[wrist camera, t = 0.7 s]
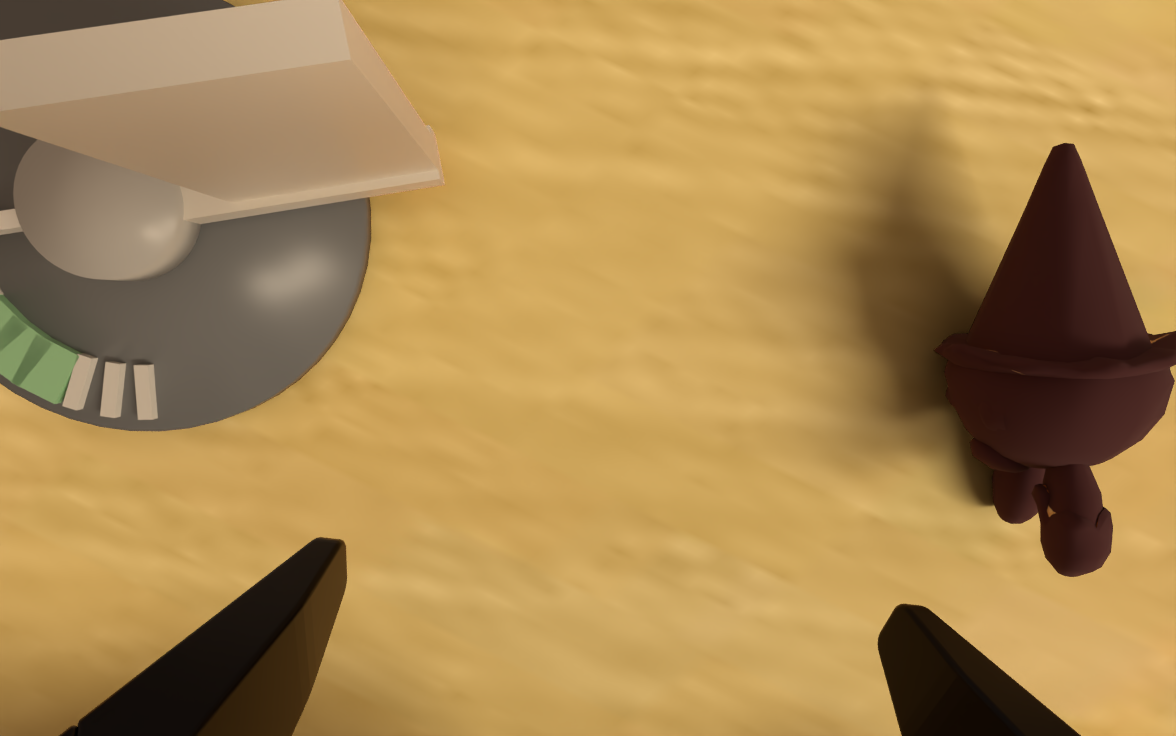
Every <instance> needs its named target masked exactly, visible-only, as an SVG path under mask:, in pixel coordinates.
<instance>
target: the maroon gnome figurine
mask: <svg viewBox="0 0 1176 736" xmlns="http://www.w3.org/2000/svg"><path fill="white" fill-rule="evenodd" d="M934 351H935V352H937V353H938V354H940V355H941V356H943V357H944V358H946V359H947V360H948V362H947V365H946V368H945V371H944V373H945V377H946V380H947V384H948V388H947V391H946V397H947V399H948V400H949V402H950V404H951V405H952V406H954V408H955V409H956V411H957V413H958V415H959V417H960V419H961V421H962V423H963V425H964V427H965V428H966V430H967V431H968V432H969V433H970V434H971V435H972V436H973V437H974V438H973V439H972V440H971V441H970V446H971V451H972V456H974V457H975V458H977V459H978V460H980V461H981V462H983V463H984V464H986V465H987V466H989V467H990V468H991V469H994V472H993V476H992V486H993V502H994V505H995V508H996V510H997V513H998V515H999V516H1000V518H1001V519H1002V520H1004V521H1006V522H1008V523H1011V524H1020V523H1023V522H1025V521H1027V520H1029V519H1031V518H1032V517H1033V516H1035V515H1036V514H1037V513H1038V514H1039V518H1040V524H1041V544H1042V548H1043V551H1044V554H1045V558H1046V559H1047V560H1048V561H1049V562H1050V564H1051V565H1052V566H1053V567H1054V569H1055V570H1056V571H1057V572H1058V573H1059V574H1061V575H1064V576H1069V577H1076V576H1080V575H1083V574H1087V573H1090V572H1093V571H1095V570H1097V569H1099V568H1101V567H1102V565H1103V564H1104V562H1105V561H1106V559H1107V557H1108V556H1109V554H1110V553H1111V545H1112V532H1113V525H1112V519H1111V513H1110V512H1109V511H1108V510H1107V509H1106V508H1104V507H1103V504H1102V495H1101V492H1100V489H1099V487H1098V485H1097V483H1096V480H1095V478H1094V476H1093V473H1092V471H1091V469H1090V466H1092V465H1097V464H1100V463H1103V462H1105V461H1107V460H1109V459H1112V458H1113V457H1115V456H1116V455H1118V454H1120V453H1121V452H1123V451H1125V450H1126V449H1128V448H1129V447H1131V446H1133V445H1134V444H1136V443H1137V442H1139V441H1141V440H1142V439H1143V438H1144V437H1145V436H1146V435H1147V433H1148V432H1149V431H1150V430H1151V429H1152V428H1153V427H1154V426H1155V424H1156V423H1157V422H1158V421H1159V420H1160V419H1161V418H1162V416H1163V415H1164V414H1165V410H1166V407H1167V404H1168V401H1169V397H1170V394H1171V391H1172V388H1173V385H1174V381H1175V380H1174V378H1173V376H1172V374H1171V371H1170V367H1172V366H1174V365H1176V331H1174V332H1168V333H1163V334H1157V335H1152V334H1148V333H1147V331H1146V329H1145V326H1144V323H1143V321H1142V318H1141V316H1140V313H1139V310H1138V308H1137V305H1136V302H1135V300H1134V297H1133V295H1132V292H1131V289H1130V287H1129V284H1128V282H1127V279H1126V276H1125V274H1124V271H1123V269H1122V266H1121V263H1120V261H1119V258H1118V256H1117V253H1116V250H1115V248H1114V245H1113V243H1112V240H1111V237H1110V235H1109V232H1108V230H1107V227H1106V224H1105V222H1104V219H1103V217H1102V214H1101V211H1100V209H1099V206H1098V203H1097V201H1096V198H1095V195H1094V193H1093V190H1092V187H1091V185H1090V182H1089V179H1088V177H1087V174H1086V172H1085V169H1084V166H1083V164H1082V161H1081V159H1080V156H1079V154H1078V152H1077V150H1076V148H1075V145H1074V144H1069V143H1063V144H1060V145H1057V146H1054V147H1053V148H1052V150H1051V152H1050V154H1049V156H1048V158H1047V160H1046V162H1045V164H1044V167H1043V169H1042V171H1041V173H1040V176H1039V178H1038V180H1037V183H1036V185H1035V187H1034V190H1033V192H1032V194H1031V196H1030V199H1029V201H1028V203H1027V206H1026V208H1025V210H1024V213H1023V215H1022V217H1021V219H1020V221H1019V223H1018V226H1017V228H1016V230H1015V232H1014V234H1013V237H1012V239H1011V241H1010V243H1009V245H1008V248H1007V250H1006V252H1005V254H1004V256H1003V259H1002V261H1001V263H1000V265H999V267H998V270H997V272H996V274H995V276H994V278H993V281H992V283H991V285H990V287H989V289H988V291H987V294H986V296H985V298H984V300H983V302H982V305H981V307H980V309H979V311H978V313H977V316H976V318H975V320H974V322H973V324H972V327H971V329H970V331H969V333H960V334H953V335H951V336H949V337H948V338H946V339H945V340H943V342H942V344H941V345H940V346H938V347H937V348H936V349H934Z"/></svg>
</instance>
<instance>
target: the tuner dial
mask: <svg viewBox="0 0 1176 736" xmlns="http://www.w3.org/2000/svg"><path fill="white" fill-rule="evenodd" d="M232 7H235V6H233V5H231V4H229V3H227V2H225V1H223V0H0V40H5V39H12V38H19V37H26V36H33V35H40V34H48V33H55V32H62V31H69V30H76V29H83V28H90V27H97V26H104V25H111V24H118V23H125V22H132V21H140V20H147V19H154V18H161V17H168V16H175V15H182V14H189V13H196V12H203V11H210V10H217V9H224V8H232ZM37 140H38V139H35V138H32V137H29V136H26V135H23V134H20V133H17V132H14V131H11V130H8V129H5V128H2V127H0V211H3V210H9V209H15V206H14V198H13V189H14V180H15V175H16V172H17V169H18V166H19V164H20V162H21V160H22V158H23V156H24V154H25V153H26V152H27V150H28V149H29V148H30V147H31V146H32V145H33V144H34V143H35V142H36V141H37ZM370 242H371V207H370V200H369V197H367V198H361V199H354V200H348V201H342V202H336V203H329V204H323V205H317V206H311V207H304V208H298V209H292V210H286V211H279V212H273V213H267V214H261V215H255V216H248V217H242V218H236V219H230V220H223V221H217V222H211V223H205V224H201V226H200V231H199V235H198V238H197V240H196V243H195V245H194V246H193V248H192V250H191V252H190V253H189V254H188V256H187V257H186V258H185V259H184V260H183V261H182V262H181V263H180V264H179V265H178V266H177V267H175V268H174V269H173V270H171V271H169V272H168V273H166V274H164V275H161V276H159V277H156V278H153V279H149V280H143V281H117V280H101V279H91V278H84V277H81V276H77V275H74V274H71V273H69V272H67V271H64V270H62V269H61V268H59V267H57V266H55V265H54V264H52V263H51V262H50V261H48V260H47V259H45V258H44V257H43V256H42V255H41V254H40V253H39V252H38V251H37V250H36V249H35V248H34V246H33V245H32V244H31V243H30V241H29V240H28V238H27V237H26V235H25V234H24V232H23V231H22V232H16V233H10V234H4V235H0V383H1V384H2V385H3V386H5V387H6V388H8V389H9V390H11V391H12V392H14V393H15V394H17V395H19V396H21V397H23V398H25V399H27V400H28V401H30V402H32V403H34V404H36V405H38V406H40V407H42V408H44V409H47V410H49V411H52V412H54V413H57V414H59V415H62V416H64V417H67V418H70V419H73V420H77V421H81V422H84V423H88V424H92V425H96V426H100V427H106V428H114V429H121V430H128V431H167V430H176V429H186V428H192V427H196V426H200V425H204V424H209V423H213V422H217V421H220V420H223V419H226V418H228V417H231V416H234V415H236V414H239V413H242V412H244V411H247V410H250V409H252V408H255V407H257V406H259V405H260V404H262V403H264V402H266V401H268V400H270V399H272V398H274V397H275V396H277V395H279V394H280V393H282V392H283V391H284V390H286V389H287V388H289V387H290V386H291V385H293V384H294V383H296V382H297V381H298V380H300V379H301V378H302V377H303V376H304V375H305V374H306V373H307V372H308V371H309V370H310V369H311V368H312V367H313V366H315V365H316V364H317V363H318V362H319V361H320V360H321V358H322V357H323V356H324V355H325V353H326V352H327V351H328V350H329V348H330V347H331V346H332V345H333V343H334V342H335V341H336V339H337V338H338V336H339V334H340V333H341V331H342V329H343V328H344V326H345V324H346V323H347V321H348V319H349V318H350V315H351V313H352V311H353V308H354V306H355V304H356V301H357V299H358V297H359V294H360V292H361V288H362V284H363V281H364V277H365V273H366V269H367V266H368V258H369V250H370Z"/></svg>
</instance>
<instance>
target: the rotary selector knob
mask: <svg viewBox="0 0 1176 736" xmlns="http://www.w3.org/2000/svg"><path fill="white" fill-rule="evenodd" d="M0 127H2V128H5V129H8V130H11V131H14V132H17V133H20V134H23V135H26V136H29V137H32V138H35V139H38V140H37V141H36V142H35V143H34V144H33V145H32V146H31V147H30V148H29V149H28V150H27V152H26V153H25V154H24V156H23V158H22V160H21V162H20V164H19V166H18V169H17V172H16V175H15V180H14V189H13V198H14V206H15V209H9V210H3V211H0V235H4V234H10V233H16V232H22V231H23V232H24V234H25V235H26V237H27V238H28V240H29V241H30V243H31V244H32V245H33V246H34V248H35V249H36V250H37V251H38V252H39V253H40V254H41V255H42V256H43V257H44V258H45V259H47V260H48V261H50V262H51V263H52V264H54V265H55V266H57V267H59V268H61V269H62V270H64V271H67V272H69V273H71V274H74V275H77V276H81V277H84V278H91V279H101V280H117V281H143V280H149V279H153V278H156V277H159V276H161V275H164V274H166V273H168V272H169V271H171V270H173V269H174V268H175V267H177V266H178V265H179V264H180V263H181V262H182V261H183V260H184V259H185V258H186V257H187V256H188V254H189V253H190V252H191V250H192V248H193V246H194V245H195V243H196V240H197V238H198V235H199V231H200V226H201V224H205V223H211V222H217V221H223V220H230V219H236V218H242V217H248V216H255V215H261V214H267V213H273V212H279V211H286V210H292V209H298V208H304V207H311V206H317V205H323V204H329V203H336V202H342V201H348V200H354V199H361V198H367V197H373V196H379V195H385V194H392V193H398V192H404V191H410V190H417V189H423V188H429V187H435V186H442V185H445V182H444V177H443V172H442V167H441V161H440V156H439V151H438V146H437V141H436V136H435V133H434V131H433V130H432V128H431V127H430V125H427V126H426V125H425V124H424V122H423V121H422V119H421V118H420V116H419V115H418V113H417V112H416V110H415V109H414V107H413V106H412V104H411V103H410V101H409V100H408V98H407V97H406V95H405V94H404V92H403V91H402V89H401V88H400V86H399V85H398V83H397V82H396V80H395V79H394V77H393V76H392V74H391V73H390V71H389V70H388V68H387V67H386V65H385V64H384V62H383V61H382V59H381V58H380V56H379V55H378V53H377V52H376V50H375V49H374V47H373V46H372V44H371V43H370V41H369V40H368V38H367V37H366V35H365V34H364V32H363V31H362V29H361V28H360V26H359V25H358V23H357V22H356V20H355V19H354V17H353V16H352V14H351V13H350V11H349V10H348V8H347V7H346V5H345V4H344V2H343V1H342V0H281V1H274V2H267V3H260V4H253V5H246V6H239V7H232V8H224V9H217V10H210V11H203V12H196V13H189V14H182V15H175V16H168V17H161V18H154V19H147V20H140V21H132V22H125V23H118V24H111V25H104V26H97V27H90V28H83V29H76V30H69V31H62V32H55V33H48V34H40V35H33V36H26V37H19V38H12V39H5V40H0Z"/></svg>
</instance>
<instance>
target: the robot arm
mask: <svg viewBox="0 0 1176 736" xmlns="http://www.w3.org/2000/svg"><path fill="white" fill-rule="evenodd" d="M346 583H347V563H346V545H345V543H344V541H343V540H340V539H331V538H323V537H319V538H316V539H314V540H312V541H311V542H310V543H308V544H307V545H306V546H304V547H303V548H302V549H300V550H299V551H298V552H297V553H295V554H294V555H293V556H291V557H290V558H289V559H288V560H286V561H285V562H284V563H282V564H281V565H280V566H278V567H277V568H276V569H275V570H273V571H272V572H271V573H269V574H268V575H267V576H266V577H264V578H263V579H262V580H260V581H259V582H258V583H256V584H255V585H254V586H253V587H251V588H250V589H249V590H247V591H246V592H245V593H243V594H242V595H241V596H240V597H238V598H237V599H236V600H234V601H233V602H232V603H231V604H229V605H228V606H227V607H225V608H224V609H223V610H221V611H220V612H219V613H218V614H216V615H215V616H214V617H212V618H211V619H210V620H209V621H207V622H206V623H205V624H203V625H202V626H201V627H199V628H198V629H197V630H196V631H194V632H193V633H192V634H190V635H189V636H188V637H186V638H185V639H184V640H183V641H181V642H180V643H179V644H177V645H176V646H175V647H174V648H172V649H171V650H170V651H168V652H167V653H166V654H164V655H163V656H162V657H161V658H159V659H158V660H157V661H155V662H154V663H153V664H152V665H150V666H149V667H148V668H146V669H145V670H144V671H142V672H141V673H140V674H139V675H137V676H136V677H135V678H133V679H132V680H131V681H129V682H128V683H127V684H126V685H124V686H123V687H122V688H120V689H119V690H118V691H117V692H115V693H114V694H113V695H111V696H110V697H109V698H107V699H106V700H105V701H104V702H102V703H101V704H100V705H98V706H97V707H96V708H94V709H93V710H92V711H91V712H89V713H88V714H87V715H85V716H84V717H83V718H82V719H80V720H79V722H78V727H77V726H71V727H69V728H68V729H67V730H66V731H64V732H63V733H62V734H60V735H59V736H292V734H293V732H294V729H295V727H296V725H297V723H298V721H299V718H300V716H301V714H302V712H303V710H304V707H305V705H306V703H307V700H308V698H309V695H310V693H311V690H312V688H313V685H314V682H315V679H316V676H317V673H318V670H319V667H320V664H321V661H322V658H323V655H324V652H325V649H326V646H327V643H328V640H329V637H330V634H331V631H332V628H333V625H334V622H335V619H336V616H337V613H338V610H339V607H340V604H341V601H342V598H343V595H344V592H345V588H346ZM878 651H879V655H880V658H881V662H882V666H883V669H884V673H885V677H886V680H887V684H888V688H889V691H890V695H891V699H892V702H893V706H894V710H895V713H896V717H897V721H898V724H899V728H900V731H901V735H902V736H1081V735H1080V734H1078V733H1077V732H1076V731H1075V730H1074V729H1072V728H1071V727H1070V726H1069V725H1068V724H1066V723H1065V722H1064V721H1063V720H1062V719H1060V718H1059V717H1058V716H1057V715H1056V714H1054V713H1053V712H1052V711H1051V710H1050V709H1048V708H1047V707H1046V706H1045V705H1043V704H1042V703H1041V702H1040V701H1039V700H1037V699H1036V698H1035V697H1034V696H1033V695H1031V694H1030V693H1029V692H1028V691H1027V690H1025V689H1024V688H1023V687H1022V686H1021V685H1019V684H1018V683H1017V682H1016V681H1015V680H1013V679H1012V678H1011V677H1010V676H1009V675H1007V674H1006V673H1005V672H1004V671H1003V670H1001V669H1000V668H999V667H998V666H997V665H995V664H994V663H993V662H992V661H991V660H989V659H988V658H987V657H986V656H985V655H983V654H982V653H981V652H980V651H979V650H977V649H976V648H975V647H974V646H973V645H971V644H970V643H969V642H968V641H967V640H965V639H964V638H963V637H962V636H961V635H959V634H958V633H957V632H956V631H955V630H953V629H952V628H951V627H950V626H949V625H947V624H946V623H945V622H944V621H943V620H941V619H940V618H939V617H938V616H937V615H935V614H934V613H933V612H932V611H930V610H929V609H928V608H926V607H923V606H919V605H911V604H900V605H898V606H896V608H895V609H894V610H893V612H892V614H891V615H890V617H889V619H888V620H887V622H886V624H885V625H884V627H883V629H882V630H881V632H880V634H879V637H878Z"/></svg>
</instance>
